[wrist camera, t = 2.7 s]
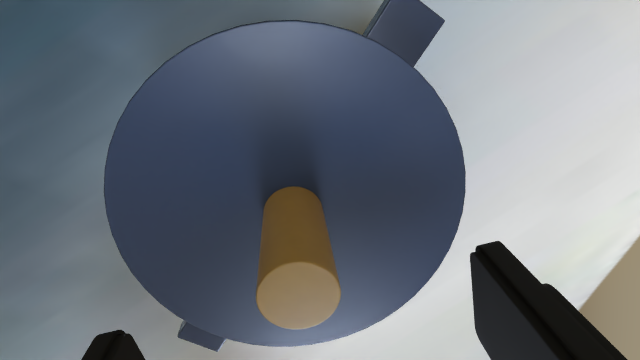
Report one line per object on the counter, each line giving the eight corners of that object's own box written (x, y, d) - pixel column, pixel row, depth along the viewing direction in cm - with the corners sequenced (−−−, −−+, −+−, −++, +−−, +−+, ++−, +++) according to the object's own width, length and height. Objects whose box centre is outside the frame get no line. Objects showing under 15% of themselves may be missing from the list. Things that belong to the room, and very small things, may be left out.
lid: (61, 258, 17) (-55, 383, 11) (215, -73, 13) (159, -155, 7) (338, 366, 22) (360, 498, 16) (522, 146, 18) (650, 211, 11)
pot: (131, 204, 27) (50, 304, 18) (268, -65, 22) (258, -134, 12) (302, 282, 31) (312, 397, 22) (454, 73, 26) (557, 103, 16)
